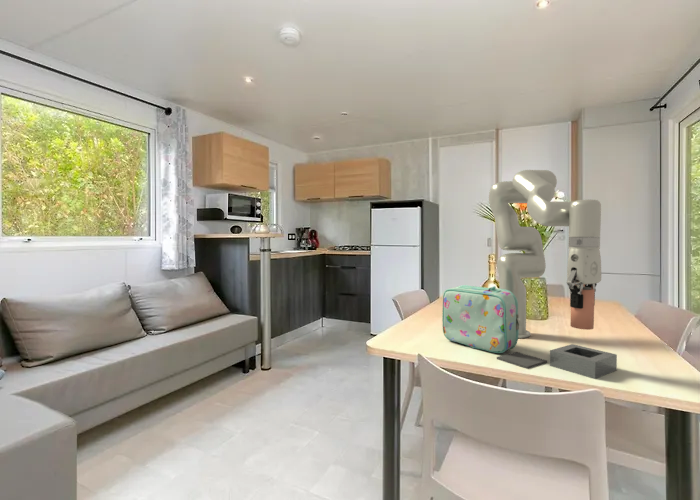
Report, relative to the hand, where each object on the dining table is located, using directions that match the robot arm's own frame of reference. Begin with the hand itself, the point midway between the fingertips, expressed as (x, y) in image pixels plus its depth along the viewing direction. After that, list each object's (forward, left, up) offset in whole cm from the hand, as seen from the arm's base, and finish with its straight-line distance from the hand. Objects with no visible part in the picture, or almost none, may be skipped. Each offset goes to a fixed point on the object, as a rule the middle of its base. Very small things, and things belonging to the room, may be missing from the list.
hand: (582, 306), depth 104 cm
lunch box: (-30, -7, -18) cm, 35 cm away
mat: (-13, -9, -18) cm, 24 cm away
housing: (0, 0, -18) cm, 18 cm away
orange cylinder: (0, 0, -6) cm, 6 cm away
